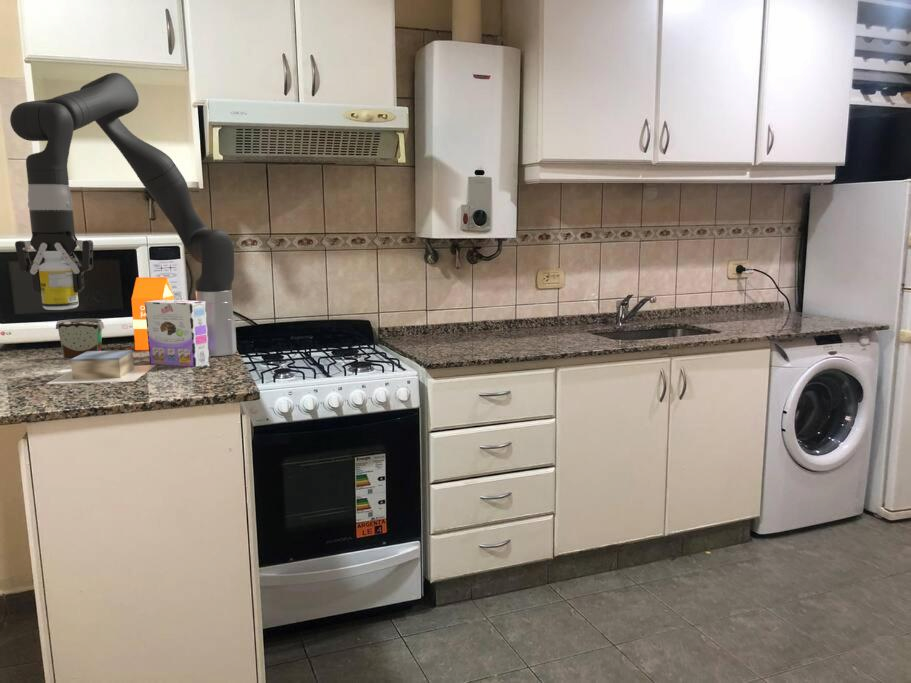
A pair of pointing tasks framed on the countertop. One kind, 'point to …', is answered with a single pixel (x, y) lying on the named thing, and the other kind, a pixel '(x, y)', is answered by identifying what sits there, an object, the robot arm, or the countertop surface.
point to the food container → (80, 336)
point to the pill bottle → (57, 283)
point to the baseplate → (130, 376)
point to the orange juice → (143, 293)
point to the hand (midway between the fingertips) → (59, 292)
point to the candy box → (177, 332)
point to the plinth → (102, 364)
